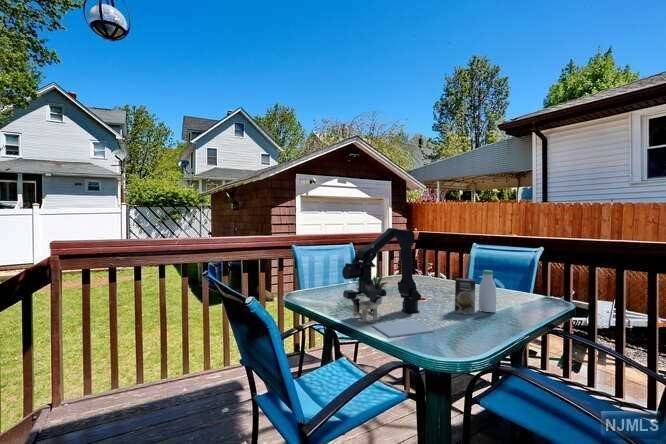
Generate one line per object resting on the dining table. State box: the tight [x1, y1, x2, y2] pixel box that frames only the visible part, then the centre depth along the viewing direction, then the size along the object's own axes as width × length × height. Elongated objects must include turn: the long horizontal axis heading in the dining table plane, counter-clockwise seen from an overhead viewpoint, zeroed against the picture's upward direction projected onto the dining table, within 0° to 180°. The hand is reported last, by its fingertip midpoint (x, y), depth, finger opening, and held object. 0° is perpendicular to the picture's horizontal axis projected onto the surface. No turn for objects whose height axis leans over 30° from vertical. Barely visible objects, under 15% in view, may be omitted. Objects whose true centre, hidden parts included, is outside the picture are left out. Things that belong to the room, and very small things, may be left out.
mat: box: [371, 319, 435, 339], centre depth 139 cm, size 20×15×1 cm
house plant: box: [371, 273, 389, 305], centre depth 180 cm, size 14×14×16 cm
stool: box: [352, 298, 378, 323], centre depth 151 cm, size 6×11×7 cm, turn 21°
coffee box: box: [454, 277, 476, 315], centre depth 164 cm, size 9×6×16 cm
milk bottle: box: [478, 269, 497, 313], centre depth 166 cm, size 8×8×20 cm
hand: (364, 312), depth 151 cm, fingers closed on stool, 6 cm apart
